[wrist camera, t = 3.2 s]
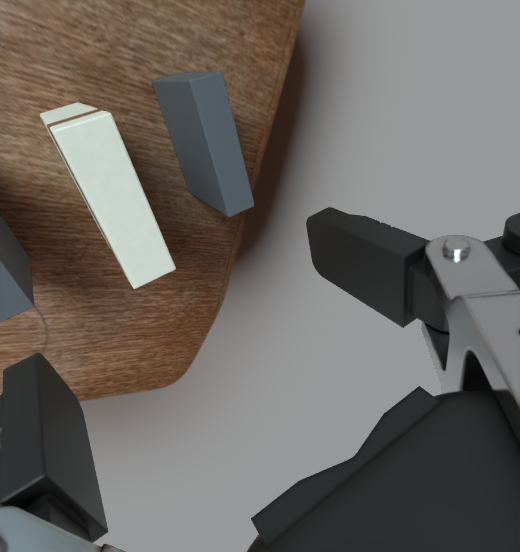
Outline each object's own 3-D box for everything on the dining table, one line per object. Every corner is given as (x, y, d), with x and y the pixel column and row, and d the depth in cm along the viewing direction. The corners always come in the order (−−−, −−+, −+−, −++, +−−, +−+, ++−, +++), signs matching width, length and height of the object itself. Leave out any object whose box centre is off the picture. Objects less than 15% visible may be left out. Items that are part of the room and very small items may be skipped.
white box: (79, 100, 23) (111, 110, 15) (132, 217, 27) (177, 269, 20) (37, 113, 22) (50, 130, 14) (99, 231, 26) (133, 291, 19)
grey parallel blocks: (178, 72, 25) (222, 70, 20) (211, 183, 29) (255, 206, 24) (-91, 152, 20) (-131, 178, 14) (-1, 271, 24) (-5, 325, 19)
